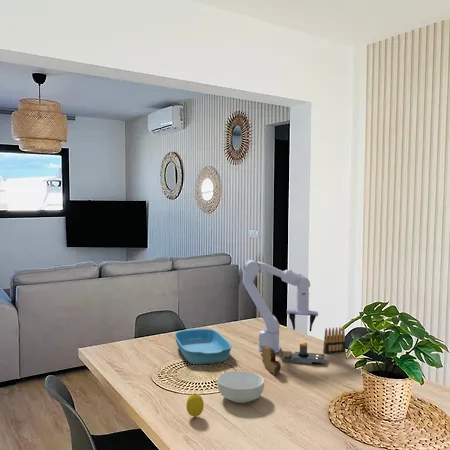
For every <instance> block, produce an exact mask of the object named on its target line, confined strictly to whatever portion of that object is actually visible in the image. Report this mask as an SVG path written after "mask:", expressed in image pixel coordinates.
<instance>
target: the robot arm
mask: <svg viewBox="0 0 450 450" xmlns="http://www.w3.org/2000/svg"><path fill="white" fill-rule="evenodd" d="M242 269H243V272H242V284H243V286H244V287H245V290H246V291H247V292H248V295H249V296H250V298H251V299H252V302H253V303H254V305H255V308H256V309H257V310H258V312H259V314H260V315H261V317H262V319H263V322H264V326H265V328H264V329H263V330H262V329H261V330H259V334H258V351H259V352H262V346H269V347H271V348H272V349H273V350H274V351H275V353H280V350H281V348H282V347H281V345H280V323H279V321H278V319H277V316H275V315H274V314H272V312H271V310H270V309H269V307H268V305H267V303H266V301H265V300H264V298H263V297H262V295H261V293H260V291H259V289H258V288H257V286H256V285H255V283H254V281H255V279H256V276H257V275H258V274H262V273H268V274H271V275H274V276H276V277H278V278H280V279H281V281H282V282H284V283H286V284H289V285H291V286H295V287H296V309H286V314H287V315H288V317H289V320H290V322H291V326H292V329H293V331H295V330H296V315H298V316H309V332H312V328H313V324H314V322H315V319H316V317H319V311H318V310H309V309H310V305H309V304H310V291H309V290H310V289H309V288H310V287H311V282H310V281H311V280H309V278H308V277H306V276H304V275H303V274H301V273H299V274H298V273H296V272H293V270H292V269H285V270H282V269H278V268H277V267H275V266H272V265H270V264H267V263H265V262H262V261H260V260H257V261H256V260H255V259H248V260H247V261H246V262H245V264H244V266H243V268H242Z"/></svg>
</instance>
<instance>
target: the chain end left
mask: <svg viewBox="0 0 450 450" xmlns="http://www.w3.org/2000/svg"><path fill="white" fill-rule="evenodd" d="M294 354H295V353H292V351H288V350H286V351H283V354H282V358H281V363H291V364H300V365H303V364H304V365H313V362H308V361H298V360H293V357H294ZM299 357H300V356H299Z"/></svg>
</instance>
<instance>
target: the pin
mask: <svg viewBox="0 0 450 450" xmlns="http://www.w3.org/2000/svg"><path fill="white" fill-rule="evenodd" d="M299 352H300V357H307V353H308V342H307V341H300V342H299Z"/></svg>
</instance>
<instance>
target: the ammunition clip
mask: <svg viewBox="0 0 450 450" xmlns="http://www.w3.org/2000/svg"><path fill="white" fill-rule="evenodd" d="M338 328H339V329H338ZM345 331H346V330H345V329H344V330H343V331H342V328H341V326H339V327H337V326H336V327H335V328H334V327H332V328H331V327H329V328H327V327H325V330H324V340H323V349H322V350H323V351H322V354H325V355H328V354H329V355H331V354H340V353H341V354H342V352H343V353H346V349H347V348H346V334H345Z"/></svg>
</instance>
